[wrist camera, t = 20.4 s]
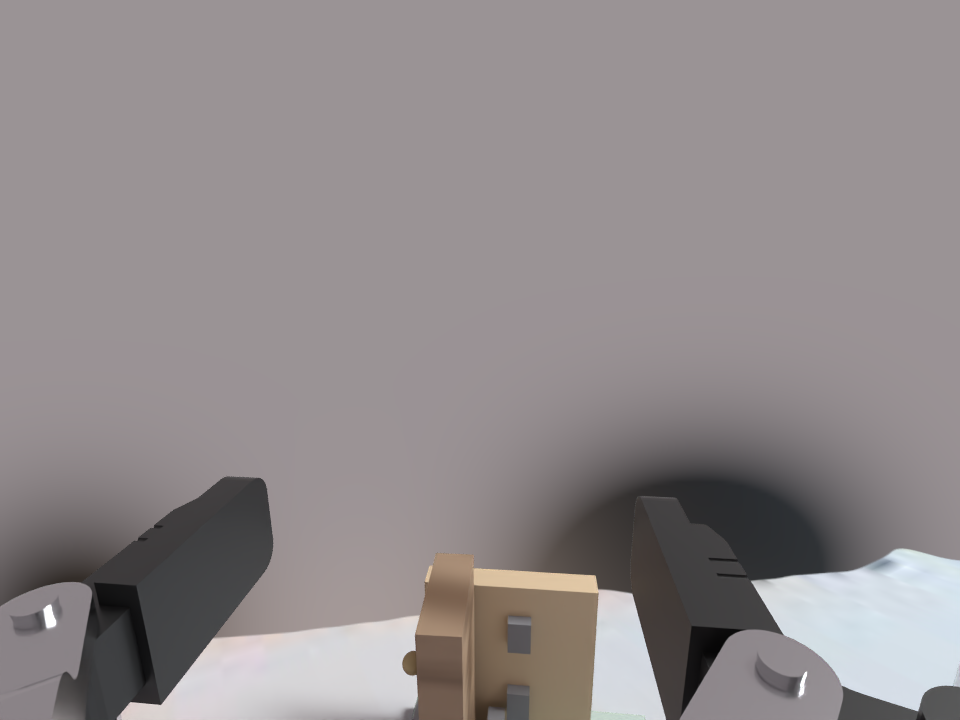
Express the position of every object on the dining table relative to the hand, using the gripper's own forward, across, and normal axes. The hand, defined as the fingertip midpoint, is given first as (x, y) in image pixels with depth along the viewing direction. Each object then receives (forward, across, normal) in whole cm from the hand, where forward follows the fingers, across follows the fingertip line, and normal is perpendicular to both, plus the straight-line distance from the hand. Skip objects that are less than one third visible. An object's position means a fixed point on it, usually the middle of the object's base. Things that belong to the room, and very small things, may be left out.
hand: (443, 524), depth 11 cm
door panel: (+16, +3, +31) cm, 35 cm away
